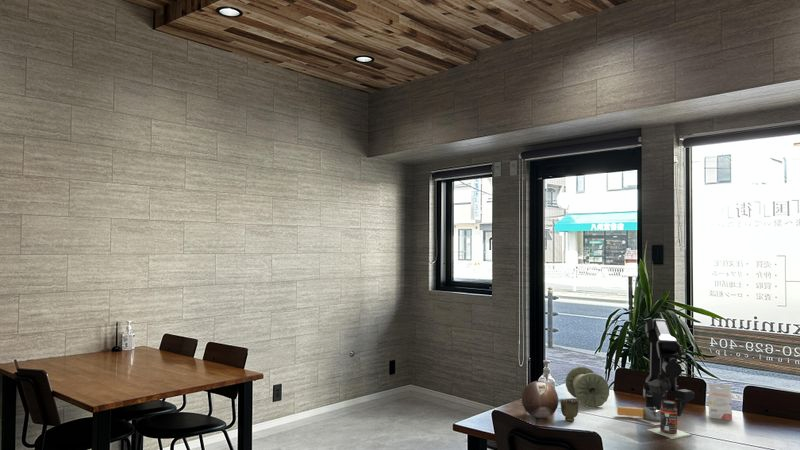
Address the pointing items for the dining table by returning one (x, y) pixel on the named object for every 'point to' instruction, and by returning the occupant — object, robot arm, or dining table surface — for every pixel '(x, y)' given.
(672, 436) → the green pad
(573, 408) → the cup
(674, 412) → the supplement bottle
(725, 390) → the ink cartridge box
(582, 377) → the spool
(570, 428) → the dining table surface
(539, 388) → the wooden sphere
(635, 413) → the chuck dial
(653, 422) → the dial plate
